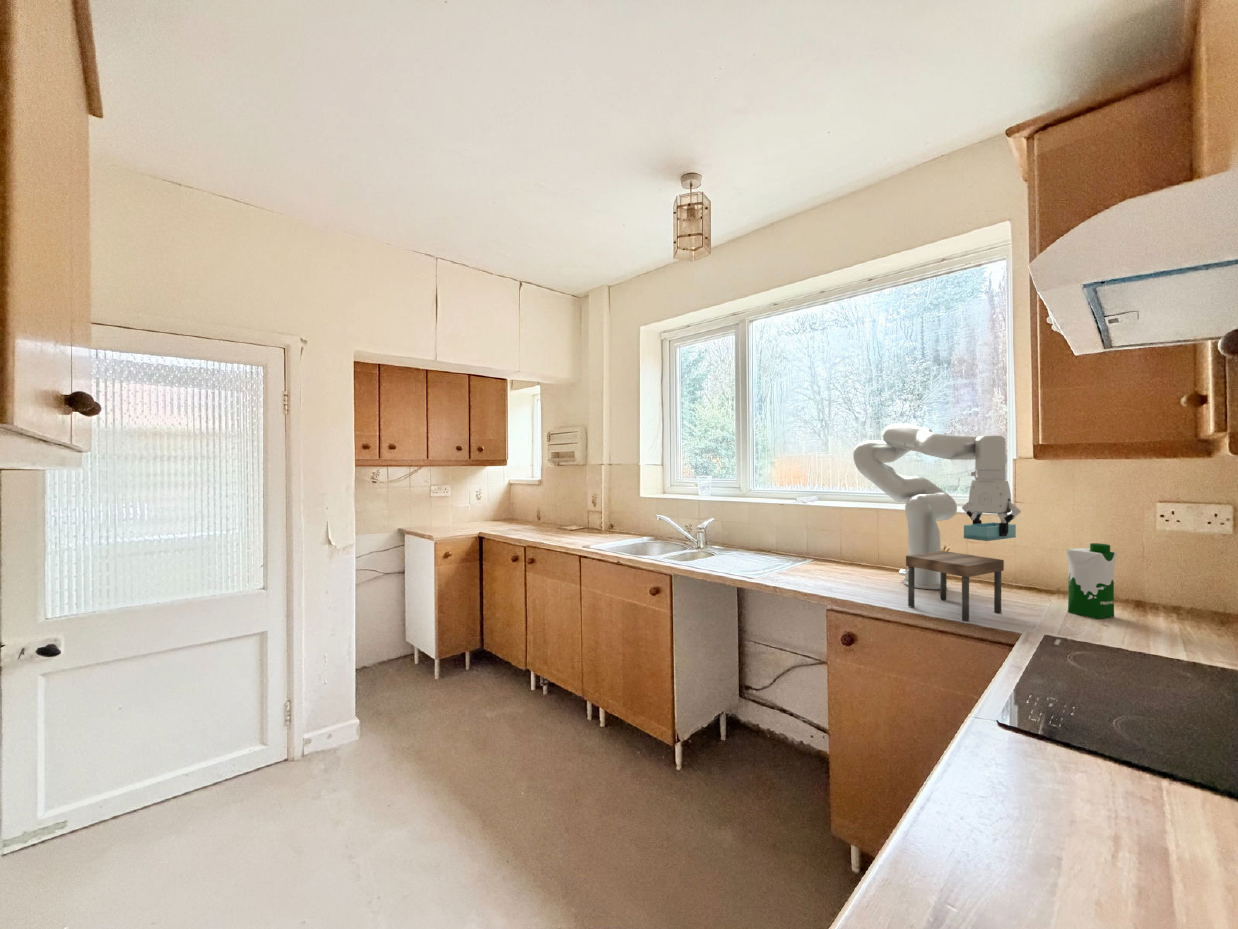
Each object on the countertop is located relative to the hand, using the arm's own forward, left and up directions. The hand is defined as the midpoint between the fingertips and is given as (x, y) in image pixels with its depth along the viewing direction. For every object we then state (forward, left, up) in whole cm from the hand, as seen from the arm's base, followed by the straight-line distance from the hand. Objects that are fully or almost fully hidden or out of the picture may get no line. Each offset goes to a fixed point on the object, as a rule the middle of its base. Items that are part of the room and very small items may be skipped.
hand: (990, 534), depth 156 cm
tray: (0, 0, -1) cm, 1 cm away
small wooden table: (0, -19, -21) cm, 28 cm away
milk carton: (+20, +10, -21) cm, 31 cm away
